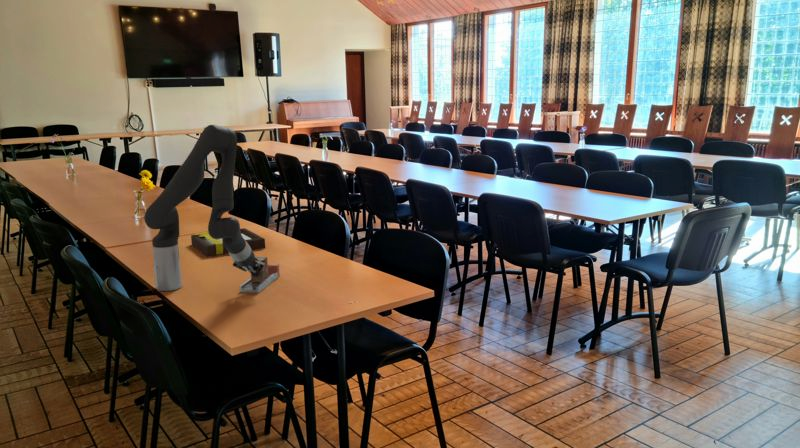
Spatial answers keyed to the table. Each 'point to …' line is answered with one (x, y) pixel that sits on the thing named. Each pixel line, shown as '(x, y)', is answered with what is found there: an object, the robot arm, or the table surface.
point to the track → (259, 286)
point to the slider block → (263, 273)
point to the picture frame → (216, 246)
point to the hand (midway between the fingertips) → (256, 274)
